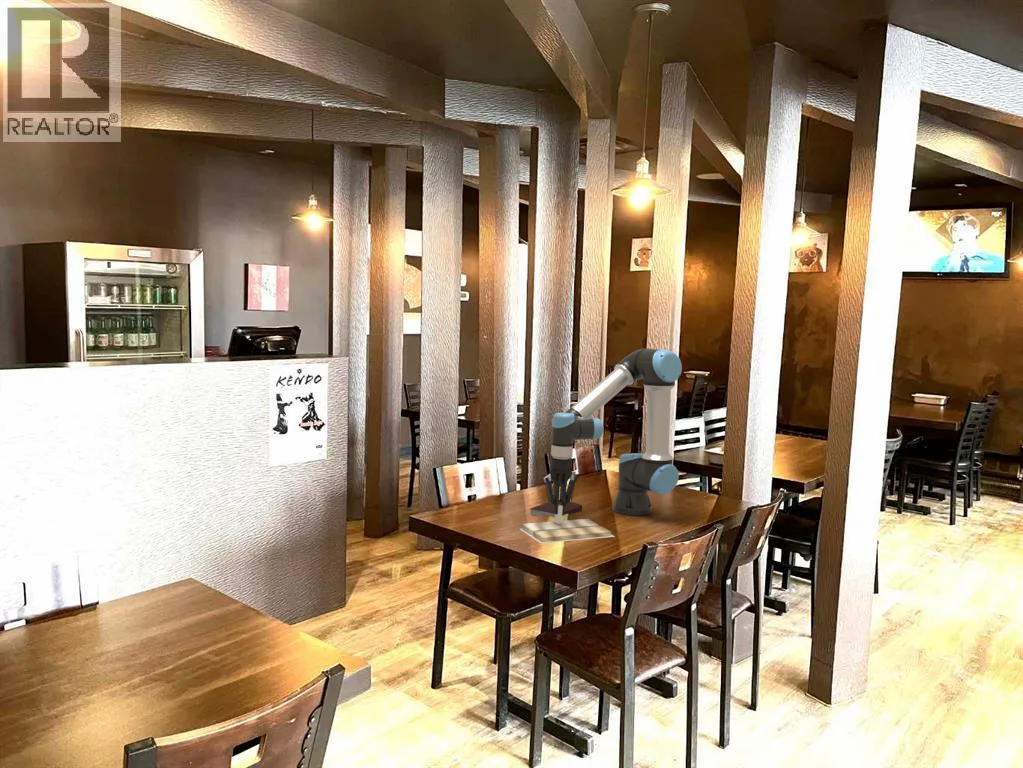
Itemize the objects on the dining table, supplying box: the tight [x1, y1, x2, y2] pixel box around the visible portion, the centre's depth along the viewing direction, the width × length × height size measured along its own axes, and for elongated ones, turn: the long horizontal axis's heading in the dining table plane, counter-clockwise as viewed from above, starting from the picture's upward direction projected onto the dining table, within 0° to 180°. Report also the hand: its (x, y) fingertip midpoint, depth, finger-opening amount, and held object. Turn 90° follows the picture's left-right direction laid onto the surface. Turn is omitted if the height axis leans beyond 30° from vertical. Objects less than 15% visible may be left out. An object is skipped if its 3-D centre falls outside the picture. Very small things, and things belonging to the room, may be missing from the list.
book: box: [529, 499, 583, 518], centre depth 292 cm, size 12×19×3 cm, turn 144°
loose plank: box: [521, 518, 600, 535], centre depth 265 cm, size 26×8×2 cm, turn 112°
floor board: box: [519, 528, 616, 544], centre depth 261 cm, size 28×18×1 cm, turn 112°
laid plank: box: [533, 525, 612, 542], centre depth 257 cm, size 26×8×2 cm, turn 112°
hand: (558, 522), depth 266 cm, fingers closed
